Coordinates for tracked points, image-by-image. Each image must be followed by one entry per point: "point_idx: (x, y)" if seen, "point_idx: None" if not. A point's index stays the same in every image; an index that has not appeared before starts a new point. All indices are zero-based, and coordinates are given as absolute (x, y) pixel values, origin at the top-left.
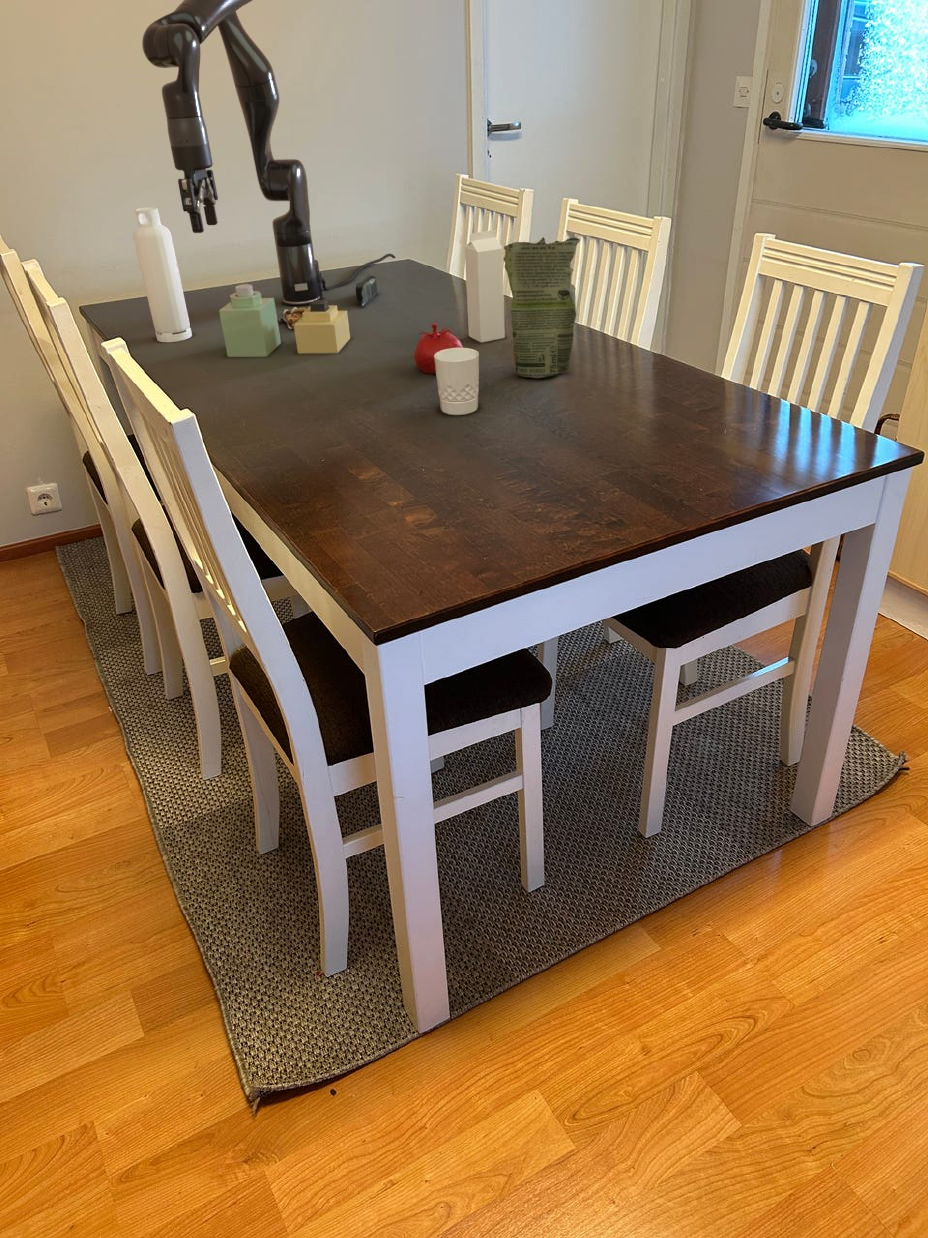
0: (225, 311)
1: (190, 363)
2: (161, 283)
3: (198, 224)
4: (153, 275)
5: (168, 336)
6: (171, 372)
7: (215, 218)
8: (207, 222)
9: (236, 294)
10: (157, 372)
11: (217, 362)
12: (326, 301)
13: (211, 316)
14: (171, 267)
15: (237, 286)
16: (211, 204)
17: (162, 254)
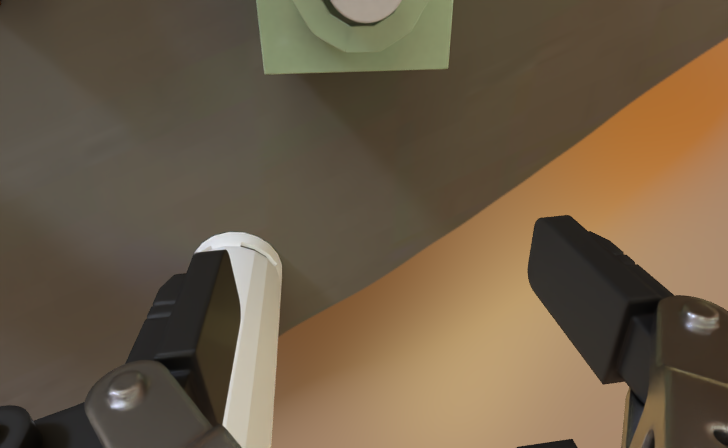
0: (449, 40)
1: (457, 132)
2: (268, 360)
3: (617, 255)
4: (273, 396)
5: (281, 270)
6: (522, 149)
7: (220, 272)
8: (237, 318)
9: (357, 26)
10: (516, 182)
11: (456, 57)
12: None
13: (20, 264)
14: None
15: (373, 11)
16: (189, 384)
17: (241, 429)
